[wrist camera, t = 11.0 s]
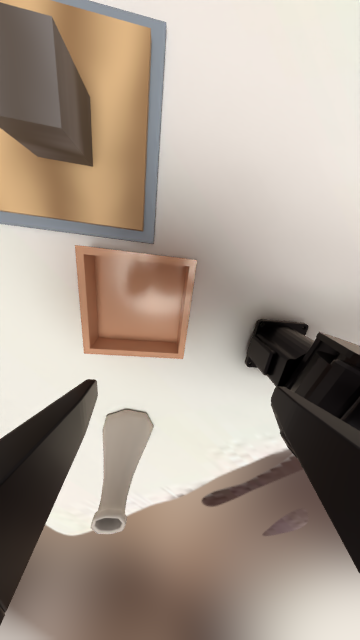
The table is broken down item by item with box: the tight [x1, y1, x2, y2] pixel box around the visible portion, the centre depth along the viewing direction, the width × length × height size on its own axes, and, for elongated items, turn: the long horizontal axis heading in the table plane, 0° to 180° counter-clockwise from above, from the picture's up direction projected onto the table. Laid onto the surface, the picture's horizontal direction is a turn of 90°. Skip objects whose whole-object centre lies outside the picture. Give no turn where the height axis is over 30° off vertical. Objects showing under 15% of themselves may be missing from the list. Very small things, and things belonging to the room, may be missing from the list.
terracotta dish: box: [75, 245, 197, 359], centre depth 18 cm, size 10×10×3 cm
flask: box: [91, 410, 154, 534], centre depth 21 cm, size 7×7×10 cm
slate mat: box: [0, 0, 166, 244], centre depth 14 cm, size 14×14×1 cm
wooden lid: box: [0, 0, 152, 231], centre depth 11 cm, size 12×12×5 cm
